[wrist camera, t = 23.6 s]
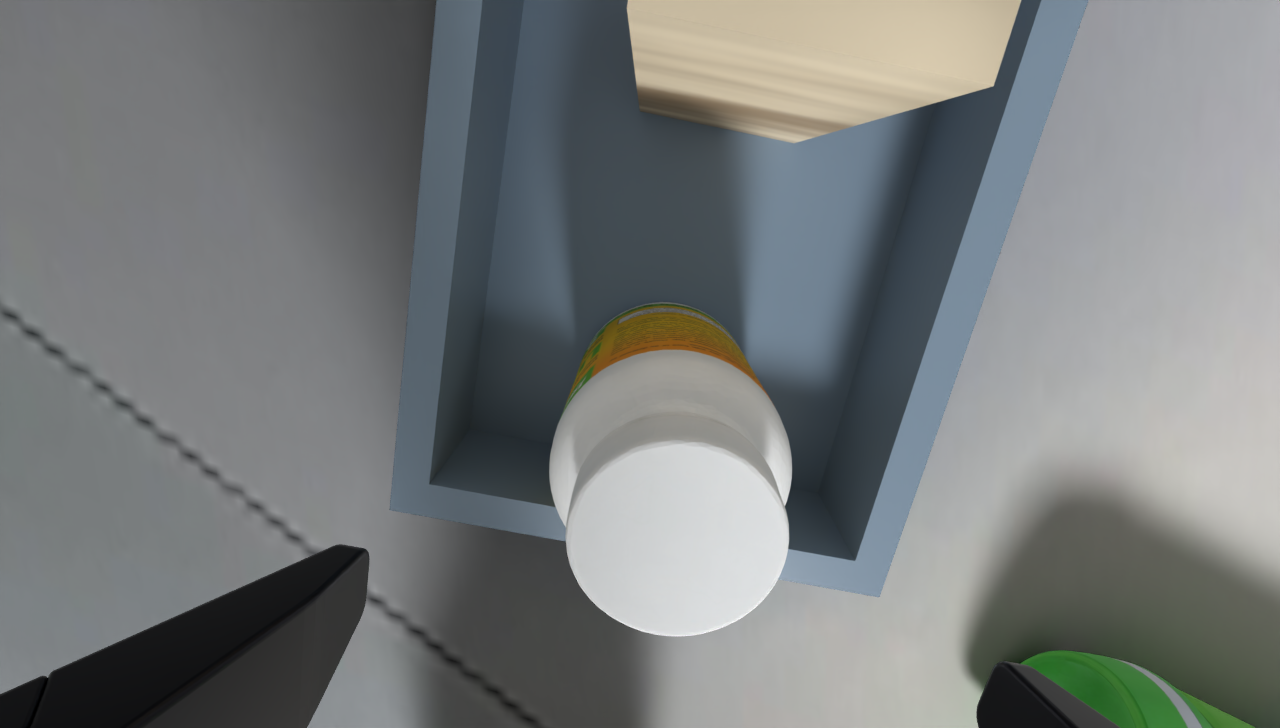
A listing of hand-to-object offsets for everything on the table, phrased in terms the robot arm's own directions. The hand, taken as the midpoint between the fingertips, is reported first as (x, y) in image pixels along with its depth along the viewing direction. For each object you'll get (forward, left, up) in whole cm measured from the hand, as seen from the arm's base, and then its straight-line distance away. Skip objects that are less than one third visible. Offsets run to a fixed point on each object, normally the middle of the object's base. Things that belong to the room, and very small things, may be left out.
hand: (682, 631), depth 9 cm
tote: (+2, -4, -13) cm, 14 cm away
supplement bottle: (0, 0, -12) cm, 12 cm away
